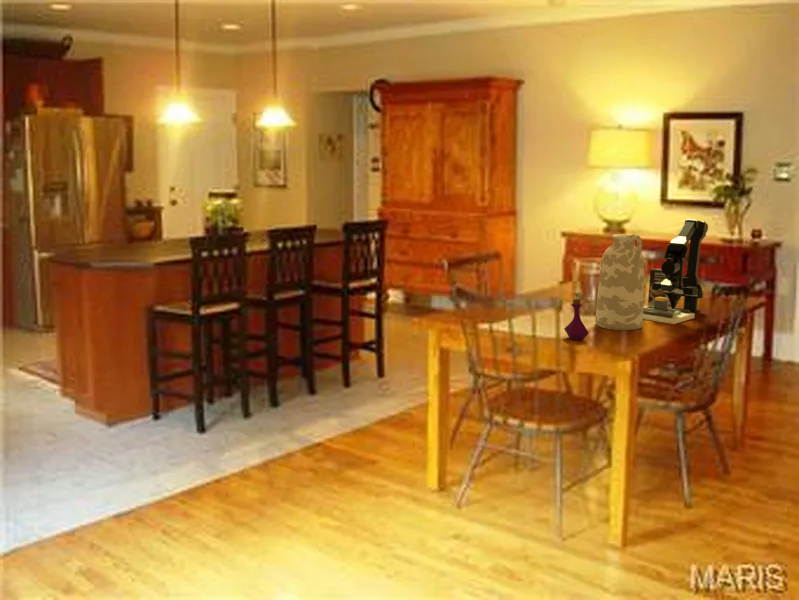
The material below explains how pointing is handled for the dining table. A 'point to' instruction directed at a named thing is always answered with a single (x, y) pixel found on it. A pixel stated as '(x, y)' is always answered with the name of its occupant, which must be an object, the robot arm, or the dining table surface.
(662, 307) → the lever
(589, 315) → the dining table surface
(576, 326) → the perfume bottle
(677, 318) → the panel
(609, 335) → the dining table surface
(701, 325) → the dining table surface
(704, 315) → the dining table surface
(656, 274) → the coffee box
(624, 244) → the vase
